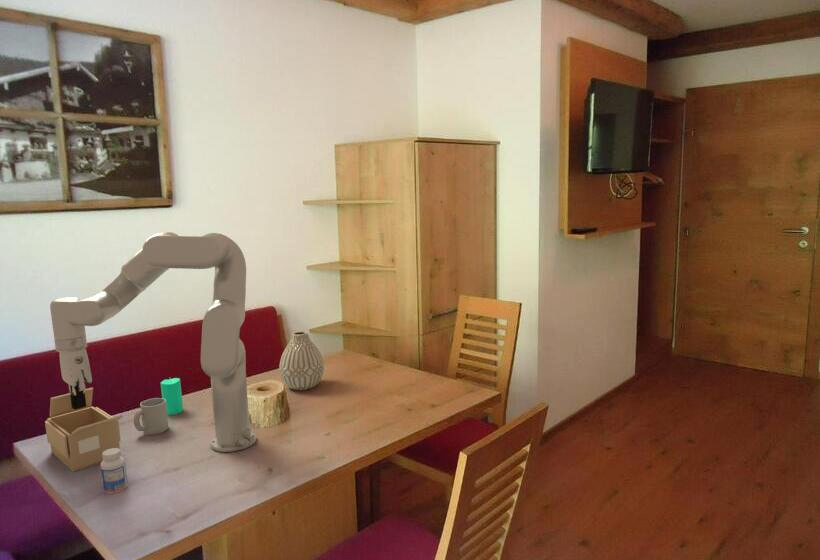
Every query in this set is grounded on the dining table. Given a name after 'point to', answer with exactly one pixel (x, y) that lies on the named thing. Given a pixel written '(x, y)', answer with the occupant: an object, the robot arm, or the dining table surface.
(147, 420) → the cup
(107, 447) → the carton
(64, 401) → the long flap far
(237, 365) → the robot arm
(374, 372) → the dining table surface
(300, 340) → the vase
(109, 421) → the long flap near
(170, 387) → the candle
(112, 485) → the pill bottle
